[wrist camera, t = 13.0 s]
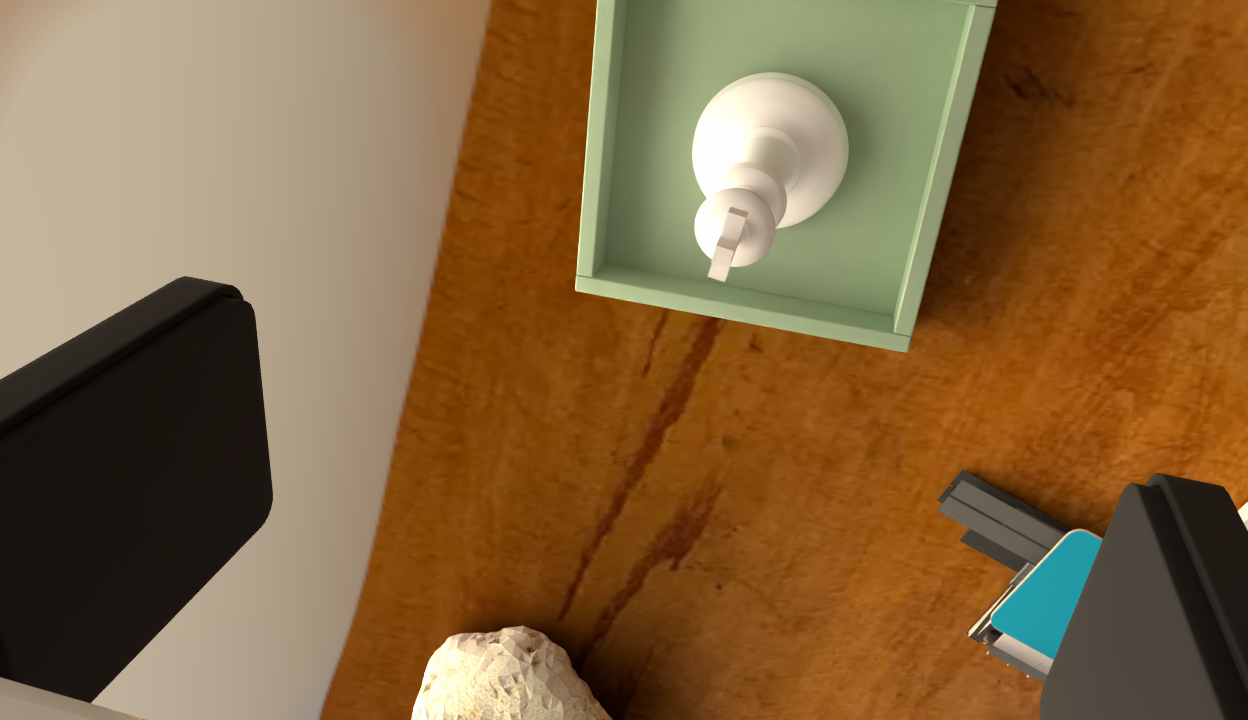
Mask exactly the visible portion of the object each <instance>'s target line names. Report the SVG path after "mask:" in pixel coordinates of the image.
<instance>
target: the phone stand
mask: <svg viewBox="0 0 1248 720" xmlns="http://www.w3.org/2000/svg"><path fill="white" fill-rule="evenodd" d="M951 484H952V485H953V486H955V487H956V488H955V489H954V488H952V487H950V486H949V487H948V488H947V489H946V490H945V492H944V493H943V494H942V495H941V496H940V498H939V499H938V501H940V502H942V503H943V504H942V505H941V506H940V507H939V509H938V510H937V511H939V512H941V513H942V514H944V515H946V516H948V517H950V518H952V519H953V520H955V521H957V522H959V523H961V524H962V525H964V526H966V527H968V528H970V529H969V530H968V531H967V532H966V533H965V535H964V536H963V537H962V538H961V539H960V541H961V542H963V543H965V544H967V545H969V546H971V547H972V548H974V549H976V550H978V551H980V552H982V553H983V554H985V555H987V556H989V557H991V558H993V559H994V560H996V561H998V562H1000V563H1002V564H1003V565H1005V566H1007V567H1009V568H1011V569H1013V570H1014V571H1016V572H1018V573H1017V574H1016V575H1015V576H1014V577H1013V578H1012V579H1011V580H1010V584H1011V585H1010V586H1009V587H1008V589H1007V590H1006V591H1005V592H1004V593H1003V594H1002V595H1001V596H1000V597H999V598H998V599H997V600H996V601H995V602H994V603H993V605H992V606H991V607H990V608H989V609H988V610H987V611H986V612H985V613H984V614H983V615H982V616H981V617H980V618H979V619H978V621H977V622H976V623H975V624H974V625H973V626H972V627H971V628H970V629H969V630H968V631H967V634H969V637H970V638H972V639H974V640H976V641H977V642H980V641H982V642H983V643H985V644H987V645H988V649H989V651H988V653H987V655H988V654H989V653H990V654H992V655H994V656H996V657H997V658H999V659H1001V660H1003V661H1005V662H1007V663H1008V664H1007V666H1008V665H1009V664H1010V665H1012V666H1014V667H1016V668H1018V669H1019V670H1021V671H1023V672H1025V673H1027V674H1028V676H1027V677H1029V675H1030V676H1032V677H1034V678H1036V679H1038V680H1039V681H1041V682H1043V683H1045V680H1046V678H1047V675H1048V673H1049V670H1050V668H1051V666H1052V663H1053V661H1054V658H1055V656H1056V653H1057V651H1058V648H1059V646H1060V644H1061V641H1062V639H1063V636H1064V634H1065V631H1066V629H1067V626H1068V624H1069V622H1070V619H1071V617H1072V614H1073V612H1074V609H1075V607H1076V604H1077V602H1078V599H1079V597H1080V595H1081V592H1082V590H1083V587H1084V585H1085V582H1086V580H1087V577H1088V575H1089V573H1090V570H1091V568H1092V565H1093V563H1094V560H1095V558H1096V555H1097V553H1098V551H1099V548H1100V546H1101V543H1102V541H1103V538H1101V537H1099V536H1097V535H1096V534H1094V533H1092V532H1090V531H1088V530H1085V529H1075V530H1074V529H1072V528H1070V527H1069V526H1067V525H1065V524H1063V523H1061V522H1059V521H1058V520H1056V519H1054V518H1052V517H1050V516H1048V515H1047V514H1045V513H1043V512H1041V511H1039V510H1038V509H1036V508H1034V507H1032V506H1030V505H1028V504H1027V503H1025V502H1023V501H1021V500H1019V499H1017V498H1016V497H1014V496H1012V495H1010V494H1008V493H1006V492H1005V491H1001V490H999V489H997V488H995V487H993V486H991V485H990V484H988V483H986V482H984V481H982V480H980V479H979V478H977V477H975V476H973V475H971V474H969V473H968V472H966V471H964V470H962V471H961V472H960V473H959V475H958V476H957V477H956V478H955V479H954V481H953V482H952V483H951ZM1238 513H1239V515H1240V517H1241V519H1242V520H1243V522H1244V524H1245V526H1246V528H1247V530H1248V502H1247V503H1246V504H1245V505H1244V506H1243V507H1242V508H1241V509H1239V510H1238Z"/></svg>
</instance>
